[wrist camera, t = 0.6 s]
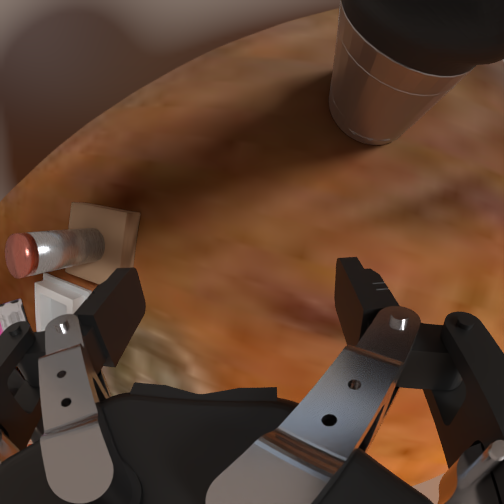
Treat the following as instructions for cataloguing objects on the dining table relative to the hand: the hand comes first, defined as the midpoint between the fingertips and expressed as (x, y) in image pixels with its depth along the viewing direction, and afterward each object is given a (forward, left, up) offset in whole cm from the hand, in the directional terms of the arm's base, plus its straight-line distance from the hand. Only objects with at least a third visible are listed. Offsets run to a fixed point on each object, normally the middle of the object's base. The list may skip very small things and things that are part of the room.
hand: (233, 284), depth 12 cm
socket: (+16, -28, -20) cm, 38 cm away
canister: (+4, -21, -17) cm, 28 cm away
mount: (+4, -21, -20) cm, 30 cm away
